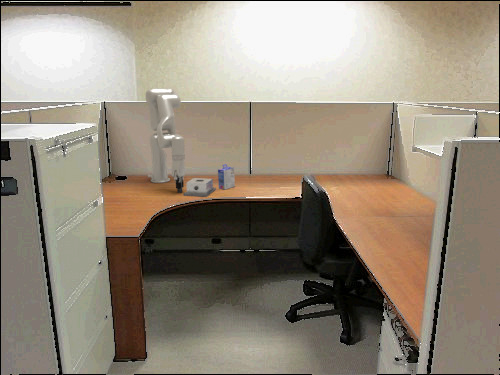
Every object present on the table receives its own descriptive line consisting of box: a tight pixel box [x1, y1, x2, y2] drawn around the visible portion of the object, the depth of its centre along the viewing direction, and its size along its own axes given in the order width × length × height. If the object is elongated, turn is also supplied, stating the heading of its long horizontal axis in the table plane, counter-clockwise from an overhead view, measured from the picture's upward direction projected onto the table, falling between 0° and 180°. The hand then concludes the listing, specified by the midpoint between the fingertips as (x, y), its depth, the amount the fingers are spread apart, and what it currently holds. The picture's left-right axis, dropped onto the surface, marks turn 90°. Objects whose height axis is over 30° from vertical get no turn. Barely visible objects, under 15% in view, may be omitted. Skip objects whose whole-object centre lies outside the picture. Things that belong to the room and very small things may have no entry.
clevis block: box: [183, 177, 217, 198], centre depth 260 cm, size 14×18×7 cm
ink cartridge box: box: [217, 163, 236, 190], centre depth 271 cm, size 10×6×14 cm, turn 141°
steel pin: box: [176, 176, 183, 194], centre depth 261 cm, size 3×3×10 cm
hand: (179, 187), depth 261 cm, fingers closed on steel pin, 3 cm apart
